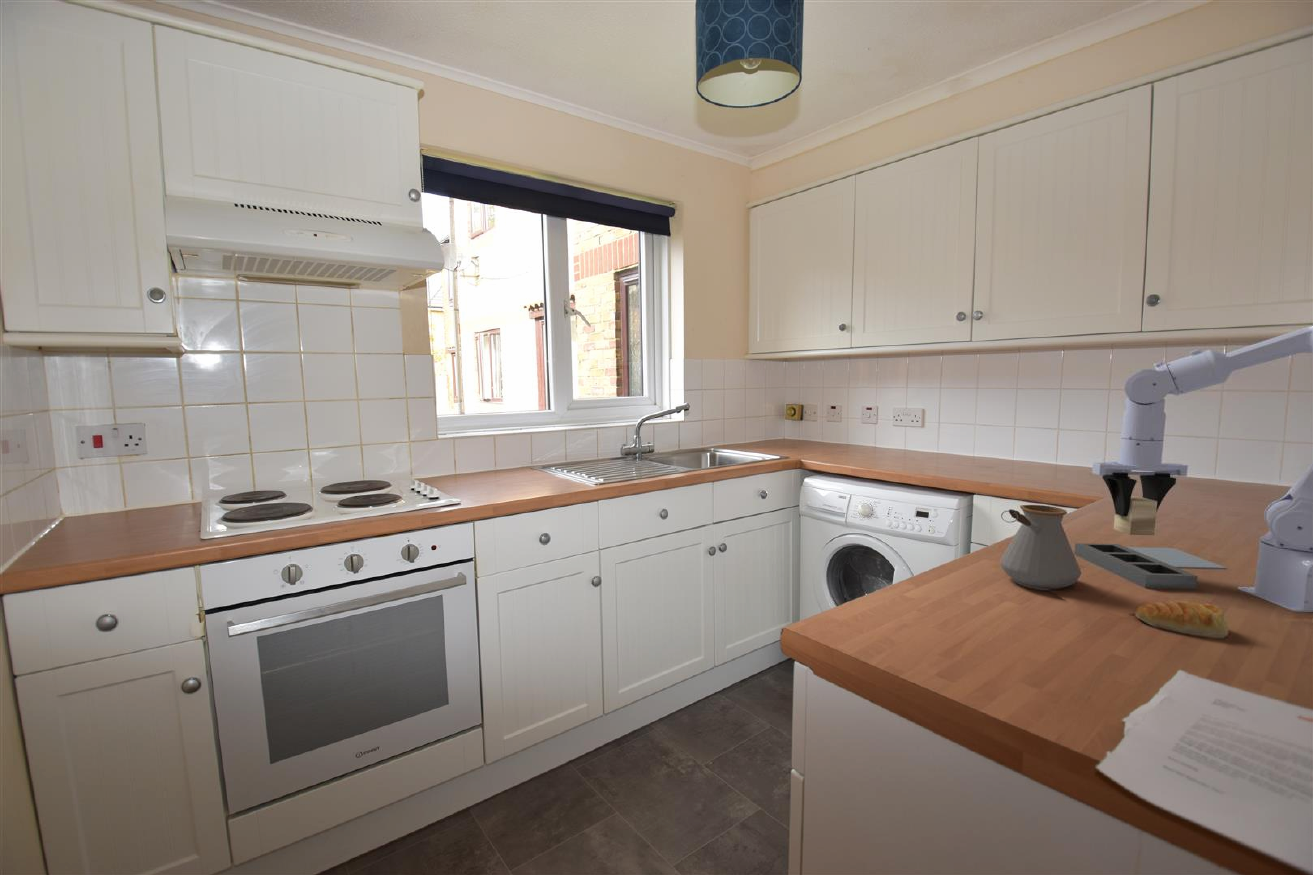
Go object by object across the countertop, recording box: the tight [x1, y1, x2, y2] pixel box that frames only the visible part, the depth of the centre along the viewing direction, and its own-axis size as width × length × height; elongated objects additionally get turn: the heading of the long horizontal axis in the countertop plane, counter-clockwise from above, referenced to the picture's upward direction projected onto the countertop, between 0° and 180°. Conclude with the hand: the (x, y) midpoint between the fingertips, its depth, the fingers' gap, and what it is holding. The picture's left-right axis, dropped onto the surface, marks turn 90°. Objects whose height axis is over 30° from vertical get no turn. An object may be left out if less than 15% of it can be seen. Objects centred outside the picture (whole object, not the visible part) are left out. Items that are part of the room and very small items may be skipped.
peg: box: [1113, 495, 1158, 536], centre depth 104 cm, size 4×4×6 cm
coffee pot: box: [999, 504, 1082, 592], centre depth 96 cm, size 21×12×15 cm, turn 130°
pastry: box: [1134, 600, 1229, 639], centre depth 83 cm, size 9×7×4 cm
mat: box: [1126, 546, 1228, 570], centre depth 112 cm, size 12×12×1 cm
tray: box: [1073, 542, 1198, 590], centre depth 105 cm, size 18×8×3 cm, turn 176°
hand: (1135, 515), depth 104 cm, fingers closed on peg, 4 cm apart
